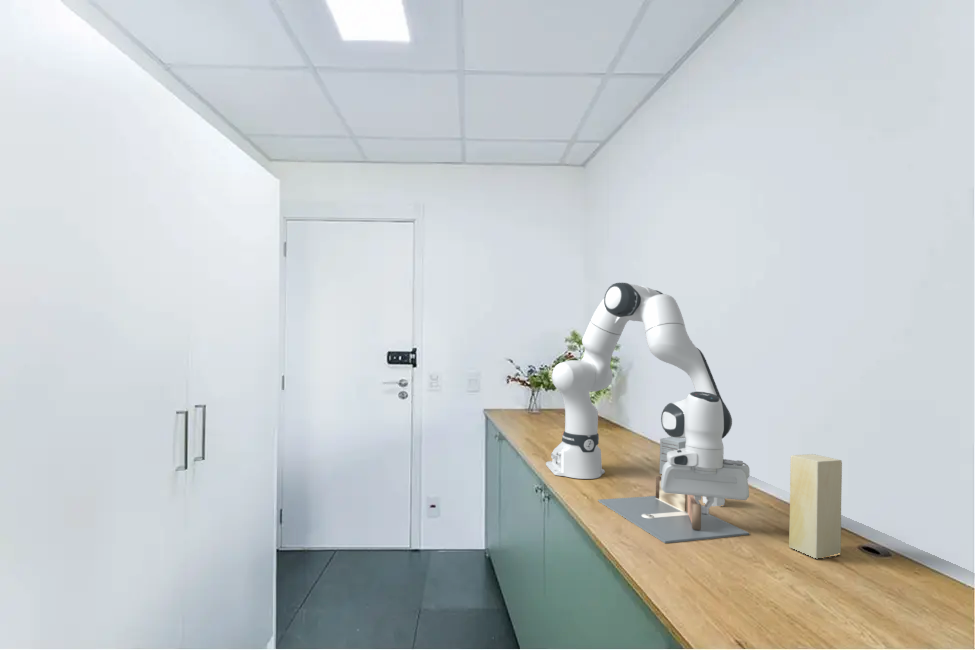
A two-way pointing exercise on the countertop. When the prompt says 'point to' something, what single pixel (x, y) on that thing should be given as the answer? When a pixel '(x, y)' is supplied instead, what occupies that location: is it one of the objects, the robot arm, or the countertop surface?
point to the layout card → (669, 520)
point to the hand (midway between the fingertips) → (703, 513)
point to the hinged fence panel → (694, 512)
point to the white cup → (715, 501)
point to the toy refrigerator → (815, 505)
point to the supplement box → (669, 448)
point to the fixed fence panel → (671, 496)
